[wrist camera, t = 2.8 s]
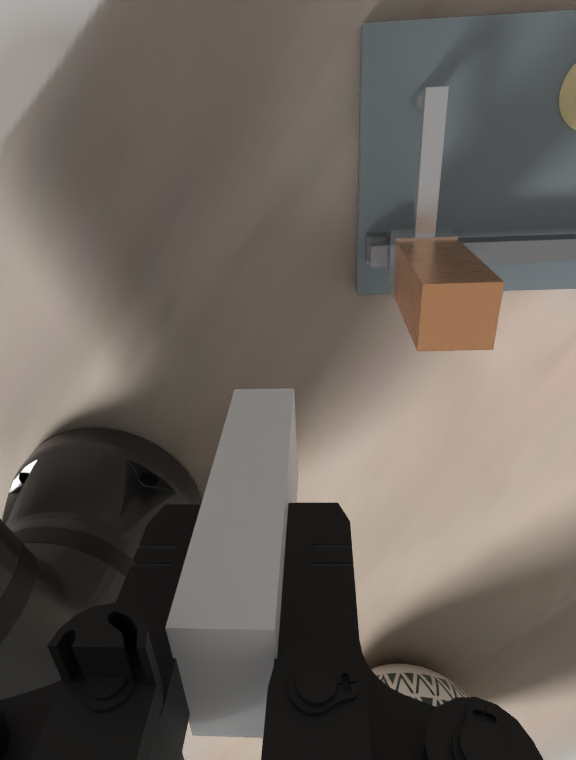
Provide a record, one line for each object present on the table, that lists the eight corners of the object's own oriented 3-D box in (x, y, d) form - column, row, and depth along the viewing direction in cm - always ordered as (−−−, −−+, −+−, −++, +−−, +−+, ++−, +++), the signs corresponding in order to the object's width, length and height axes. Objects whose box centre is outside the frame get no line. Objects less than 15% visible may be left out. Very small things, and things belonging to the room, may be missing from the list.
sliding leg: (383, 272, 30) (417, 353, 20) (391, 91, 26) (439, 81, 16) (434, 270, 30) (492, 351, 20) (451, 87, 26) (537, 76, 16)
